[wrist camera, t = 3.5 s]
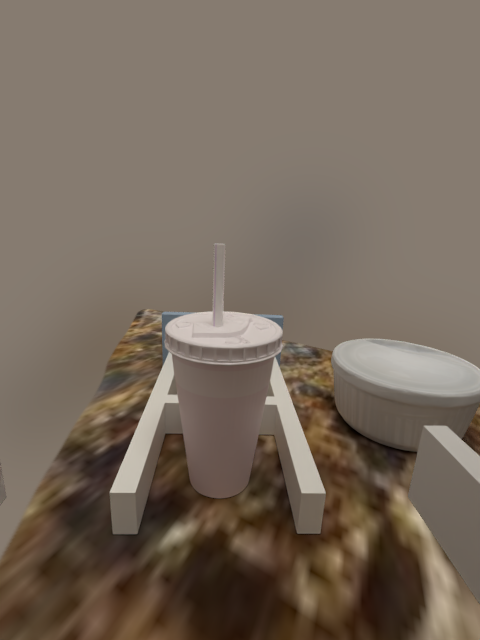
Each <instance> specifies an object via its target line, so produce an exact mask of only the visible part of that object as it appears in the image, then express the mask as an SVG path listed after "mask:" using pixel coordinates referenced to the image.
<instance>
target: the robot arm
mask: <svg viewBox="0 0 480 640" xmlns="http://www.w3.org/2000/svg"><path fill="white" fill-rule="evenodd" d="M408 498H409V499H410V501H411V502H412V504H413V505H414V507H415V508H416V510H417V511H418V513H419V514H420V516H421V517H422V519H423V520H424V522H425V523H426V525H427V526H428V528H429V529H430V531H431V532H432V534H433V535H434V537H435V538H436V540H437V541H438V543H439V544H440V546H441V547H442V549H443V550H444V552H445V553H446V555H447V556H448V558H449V559H450V561H451V562H452V564H453V565H454V567H455V568H456V570H457V571H458V573H459V574H460V576H461V577H462V578H463V580H464V581H465V583H466V584H467V586H468V587H469V589H470V590H471V592H472V593H473V595H474V596H475V598H476V599H477V601H478V602H479V604H480V456H479V455H478V454H477V453H476V452H475V451H473V450H472V449H471V448H470V447H469V446H468V445H467V444H466V443H465V442H464V441H463V440H461V439H460V438H459V437H458V436H457V435H456V434H455V433H454V432H453V431H452V430H451V429H450V428H448V427H447V426H423V429H422V434H421V439H420V443H419V448H418V452H417V457H416V462H415V466H414V471H413V475H412V480H411V485H410V489H409V494H408ZM5 499H6V492H5V486H4V480H3V475H2V469H1V464H0V505H1V504H2V503H3V501H4V500H5Z"/></svg>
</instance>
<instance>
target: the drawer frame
mask: <svg viewBox="0 0 480 640" xmlns="http://www.w3.org/2000/svg"><path fill="white" fill-rule="evenodd" d="M187 314H192V313H190V312H189V313H188V312H163V313H162V343H163V367H162V370H161V372H160V374H159V377H158V379H157V382H156V384H155V386H154V389H153V391H152V393H151V396H150V398H149V401H148V403H147V405H146V408H145V410H144V412H143V415H142V417H141V419H140V422H139V424H138V427H137V429H136V431H135V434H134V436H133V438H132V441H131V443H130V446H129V448H128V450H127V453H126V455H125V457H124V460H123V462H122V465H121V467H120V469H119V472H118V474H117V476H116V479H115V481H114V484H113V486H112V488H111V491H110V505H111V518H112V531H113V534H138V530H139V527H140V523H141V519H142V516H143V512H144V509H145V505H146V501H147V498H148V494H149V491H150V487H151V483H152V480H153V476H154V473H155V469H156V465H157V462H158V458H159V455H160V451H161V447H162V444H163V440H164V437H165V433H167V434H183V430H182V423H181V416H180V409H179V402H178V395H176V393H177V388H176V381H175V376H174V368H173V360H172V354H171V353H170V352H169V351H168V350H167V349H166V348H165V343H164V341H165V327H166V325H167V324H168V323H169V322H170V321H171V320H173V319H175V318H177V317H180V316H183V315H187ZM252 315H253V314H252ZM254 315H256V314H254ZM257 316H260V317H264V318H267V319H269V320H272V321H273V322H275V323H277V324H278V325H279V326H280V327H281V328H282V330H283V316H282V315H257ZM280 355H281V352H280V353H279V354H278V355H276V356H275V357H274V363H273V368H272V373H271V379H270V382H269V387H268V392H267V397H266V401H265V406H264V411H263V416H262V421H261V426H260V430H259V435H274V436H275V440H276V444H277V449H278V453H279V457H280V462H281V466H282V470H283V475H284V479H285V483H286V488H287V492H288V496H289V501H290V505H291V509H292V514H293V518H294V523H295V527H296V531H297V534H320V533H321V525H322V518H323V511H324V503H325V496H326V492H325V490H324V487H323V484H322V482H321V479H320V476H319V473H318V471H317V468H316V465H315V463H314V460H313V457H312V455H311V452H310V449H309V446H308V444H307V441H306V438H305V436H304V433H303V430H302V427H301V425H300V422H299V419H298V417H297V414H296V411H295V408H294V406H293V403H292V400H291V398H290V395H289V392H288V390H287V387H286V384H285V381H284V379H283V376H282V373H281V371H280Z"/></svg>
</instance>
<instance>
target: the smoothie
mask: <svg viewBox="0 0 480 640" xmlns="http://www.w3.org/2000/svg"><path fill="white" fill-rule="evenodd" d="M224 269H225V244H214V273H213V311H212V312H200V313H192V314H187V315H183V316H180V317H177V318H175V319H173V320H171V321H170V322H169V323H168V324H167V325H166V327H165V341H164V343H165V348H166V349H167V350H168V351H169V352H170V353H171V354H172V360H173V368H174V376H175V381H176V388H177V395H178V402H179V409H180V416H181V423H182V430H183V437H184V444H185V451H186V457H187V464H188V471H189V478H190V483H191V485H192V486H193V488H194V489H195V490H196V491H197V492H199V493H200V494H202V495H204V496H207V497H211V498H228V497H232V496H234V495H237V494H239V493H240V492H241V491H243V490H244V489H245V488H246V486H247V485H248V482H249V478H250V474H251V469H252V464H253V459H254V454H255V450H256V445H257V440H258V435H259V430H260V426H261V421H262V416H263V411H264V406H265V401H266V397H267V392H268V387H269V382H270V379H271V373H272V368H273V363H274V357H275V356H276V355H278V354H279V353H280V352H281V350H282V348H283V345H282V328H281V327H280V326H279V325H278V324H277V323H275V322H273V321H272V320H269V319H267V318H264V317H260V316H257V315H252V314H246V313H238V312H224V311H223V305H224V272H225V270H224Z"/></svg>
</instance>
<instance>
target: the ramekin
mask: <svg viewBox="0 0 480 640" xmlns="http://www.w3.org/2000/svg"><path fill="white" fill-rule="evenodd" d="M331 363H332V367H333V369H334V391H335V404H336V407H337V410H338V412H339V413H340V415H341V416H342V417H343V419H344V420H345V421H346V422H347V424H349V425H350V426H351V427H352V428H353V429H354V430H356V431H357V432H359V433H360V434H362V435H363V436H365V437H367V438H369V439H371V440H373V441H375V442H378V443H380V444H383V445H386V446H389V447H393V448H397V449H401V450H406V451H413V452H418V448H419V443H420V439H421V434H422V429H423V426H447V427H448V428H450V429H451V430H452V431H453V432H454V433H455V434H456V435H457V436H458V437H459V438H460V439H462V438H463V436H464V435H465V433H466V431H467V429H468V427H469V425H470V423H471V421H472V419H473V417H474V415H475V413H476V411H477V408H478V406H479V404H480V369H479V368H478V367H476V366H475V365H473V364H471V363H470V362H468V361H466V360H463V359H461V358H459V357H457V356H454V355H452V354H449V353H446V352H443V351H440V350H437V349H433V348H429V347H426V346H422V345H417V344H413V343H408V342H402V341H395V340H386V339H357V340H351V341H346V342H343V343H341V344H339V345H338V346H337V347H336V348H335V349H334V350H333V353H332V359H331Z"/></svg>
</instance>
